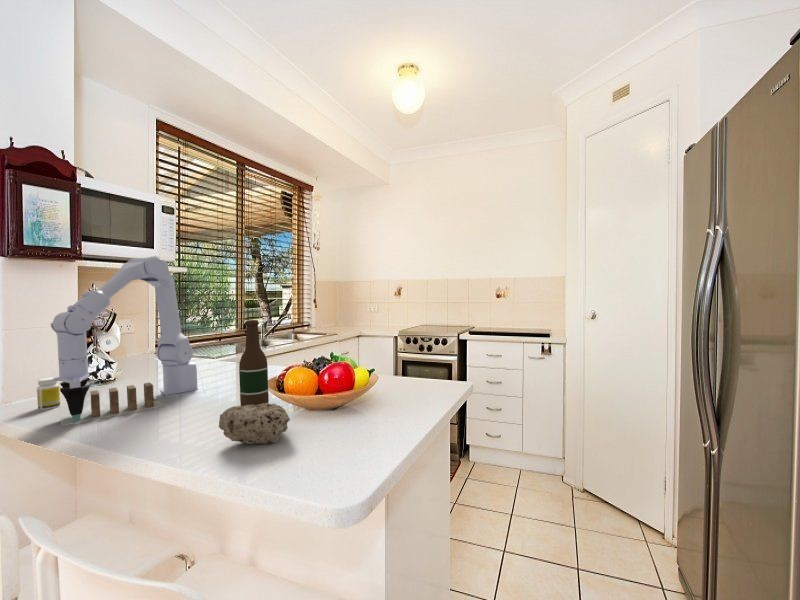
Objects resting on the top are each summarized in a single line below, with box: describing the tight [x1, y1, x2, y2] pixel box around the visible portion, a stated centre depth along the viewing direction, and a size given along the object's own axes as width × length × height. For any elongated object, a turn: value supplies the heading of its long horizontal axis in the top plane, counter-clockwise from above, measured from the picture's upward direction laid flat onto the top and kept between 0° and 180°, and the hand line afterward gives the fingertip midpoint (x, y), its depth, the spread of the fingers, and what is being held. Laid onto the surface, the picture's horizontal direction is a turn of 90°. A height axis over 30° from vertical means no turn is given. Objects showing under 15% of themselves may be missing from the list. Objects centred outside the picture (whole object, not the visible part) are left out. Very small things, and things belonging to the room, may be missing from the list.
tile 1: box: [143, 382, 155, 408], centre depth 112 cm, size 2×5×6 cm, turn 41°
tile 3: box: [108, 387, 120, 414], centre depth 106 cm, size 2×5×6 cm, turn 41°
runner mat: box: [60, 399, 165, 427], centre depth 106 cm, size 22×8×1 cm, turn 131°
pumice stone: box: [218, 403, 291, 445], centre depth 84 cm, size 14×12×8 cm
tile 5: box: [72, 414, 81, 422], centre depth 101 cm, size 2×5×6 cm, turn 41°
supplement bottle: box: [36, 376, 61, 411], centre depth 112 cm, size 5×5×8 cm
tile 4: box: [89, 389, 101, 418], centre depth 104 cm, size 2×5×6 cm, turn 41°
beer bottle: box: [238, 319, 270, 406], centre depth 108 cm, size 8×8×24 cm
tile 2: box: [126, 384, 138, 411], centre depth 109 cm, size 2×5×6 cm, turn 41°
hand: (75, 411), depth 101 cm, fingers open, 7 cm apart
